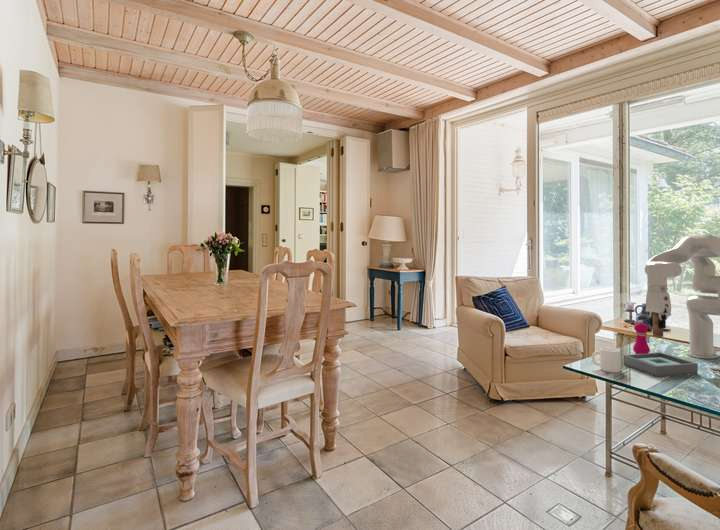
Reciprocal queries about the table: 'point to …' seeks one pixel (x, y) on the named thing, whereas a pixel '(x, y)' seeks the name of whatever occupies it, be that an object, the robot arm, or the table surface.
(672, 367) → the tray
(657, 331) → the peg
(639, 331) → the pepper mill
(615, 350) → the mug
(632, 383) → the table surface
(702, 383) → the table surface
